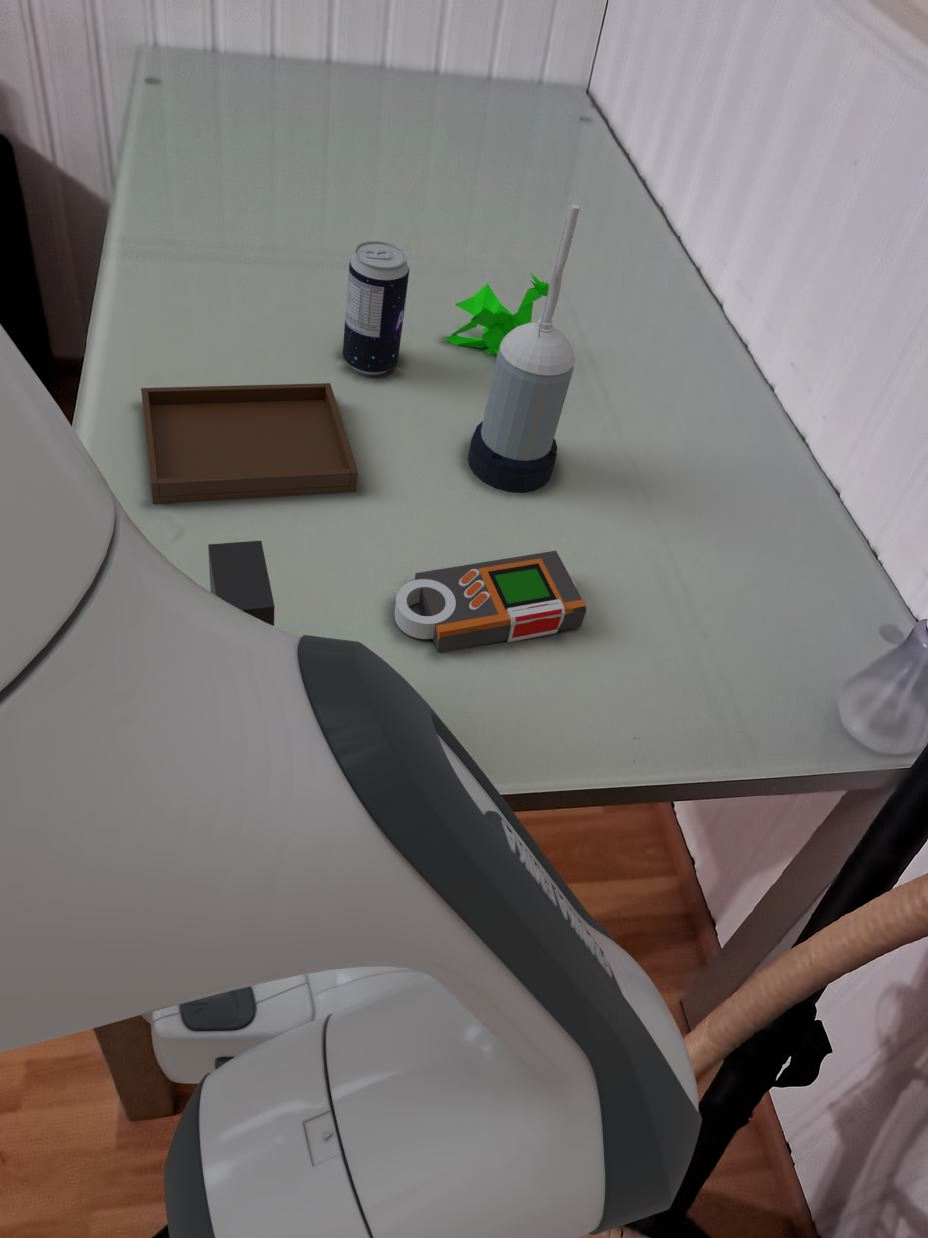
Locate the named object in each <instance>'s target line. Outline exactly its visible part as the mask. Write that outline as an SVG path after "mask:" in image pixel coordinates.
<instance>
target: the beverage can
mask: <svg viewBox="0 0 928 1238" xmlns="http://www.w3.org/2000/svg"><path fill="white" fill-rule="evenodd" d="M407 260H408V256H407V254H406V252H405V251H404V250H403V249H402V248H401V247H399V246H398V245H395V244H393V243H390V242H387V241H382V240H368V241H364V242H361V243H359V244H358V245H357V246H355V249H354V253H353V255H352V256H351V258H350V259H349V265H348V278H347V290H346V302H345V303H346V304H345V317H344V329H343V343H342V357H343V359H344V361H345V362H346V363H347V364H348V365H349V366H350V367H351V368H352V369H353V370H354V371H356V372H358V373H360V374H363V375H367V376H379V375H383V374H386V373H387V372H388V371H390V370H391V369H393V368H395V367H396V366H397V365H398V362H399V357H400V350H401V349H400V348H401V339H402V332H403V326H404V325H403V324H404V316H405V309H406V300H407V292H408V286H409V285H408V282H409V277H410V267H409V263H408V262H407Z"/></svg>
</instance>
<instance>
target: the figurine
mask: <svg viewBox="0 0 928 1238" xmlns="http://www.w3.org/2000/svg"><path fill="white" fill-rule="evenodd" d="M530 275H531V278H532V280H533V281H532V280H529V281H530V282H531V284H532V285H533V287H531V288H527V290H526V292H525V295H524V296H523V299H522V301H521V303H520V305H519V307H518V309H517V312H515V313H512V312H510V310H508V309H507V308H506V307H505V306H504V305H503V304H502V303H501V301H500V300H499V298H498V296H497V295H496V294H495V292H494V291H493V289H492V288H491V286H490V284H489V283H488V282H487V283H486V284H485V285H484V286H483V287H482V288H480V289H479V290H478V291H477V292H476V293H475V294H474V295H473V296H471V297H468V298H466V299H464V300H461V301H459V302H458V303H454V305H455V306H456V307H459V308H460V309H462V310H463V311H465V312H466V313H468V314H470V315H471V316H473V317H472V318H470V322H468V323H466V324H465V325H463V326H462V327H460V328H459V329H457V330H455V331H454V332H453V333H451V334H450V335H449V336H444V339H445V340H446V341H448V342H449V343H450V344H452V345H455V346H462V347H469V348H477V349H484V350H483V352H484V353H487V354H489V355H491V356H493V355H496V356H497V353H498V351H499V348H500V345H501V342H502V340H503V339H504V337H505V336H506V335H507V334H508V333H509V332H510V331H512V330H513V329H515V328H516V327H518V326H521V325H524V324H527V323H531V322H532V316H533V307H534V302H535V301H537V300H538V299H540V298H542V297H547V292H548V288H549V284H550V283H548V282H547V281H544V280H540V279H539V278H538V277H536V275H534V274H533V273H530ZM478 325H479V326H481V327H484V328H482V334H481V336H482V337H473V336H472V337H471V336H465V337H464V336H460V335H459V334H462V333H465V332H467V331H470V330H472V329H475V328H477V327H478ZM486 347H487V348H486Z"/></svg>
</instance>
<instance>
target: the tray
mask: <svg viewBox="0 0 928 1238" xmlns="http://www.w3.org/2000/svg"><path fill="white" fill-rule="evenodd" d="M140 392H141V403H142V413H143V421H144V422H143V423H144V431H145V441H146V450H147V451H146V453H147V462H148V472H149V480H150V490H151V492H150V493H151V500H152V505H162V504H164V505H166V504H181V503H182V504H183V503H196V502H197V503H198V502H211V501H228V500H231V501H232V500H245V499H247V500H248V499H261V498H262V499H263V498H281V497H295V496H313V495H329V494H345V493H346V494H347V493H356V492H357V487H358V475H359V471H358V468H357V465H356V462H355V458H354V454H353V453H352V449H351V445H350V441H349V439H348V436H347V433H346V430H345V427H344V423H343V420H342V417H341V413H340V410H339V407H338V403H337V400H336V396H335V394H334V390H333V387H332V384H331V382H322V383H319V382H317V383H286V384H285V383H283V384H282V383H279V384H278V383H277V384H245V385H243V384H241V385H204V386H203V385H202V386H166V387H164V386H163V387H141V388H140Z"/></svg>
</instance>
